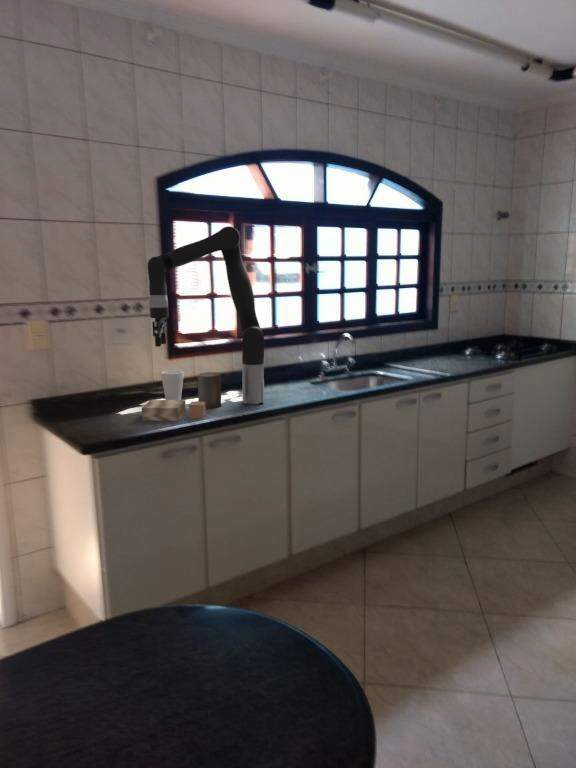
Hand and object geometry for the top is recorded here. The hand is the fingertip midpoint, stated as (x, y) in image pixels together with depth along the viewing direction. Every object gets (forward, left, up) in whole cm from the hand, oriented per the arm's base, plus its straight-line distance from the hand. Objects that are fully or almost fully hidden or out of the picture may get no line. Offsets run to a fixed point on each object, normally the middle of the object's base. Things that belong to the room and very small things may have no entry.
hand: (160, 345), depth 240 cm
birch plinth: (-5, +19, -26) cm, 33 cm away
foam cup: (-3, -7, -26) cm, 27 cm away
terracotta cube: (-18, +19, -26) cm, 37 cm away
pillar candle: (-20, 0, -26) cm, 33 cm away
